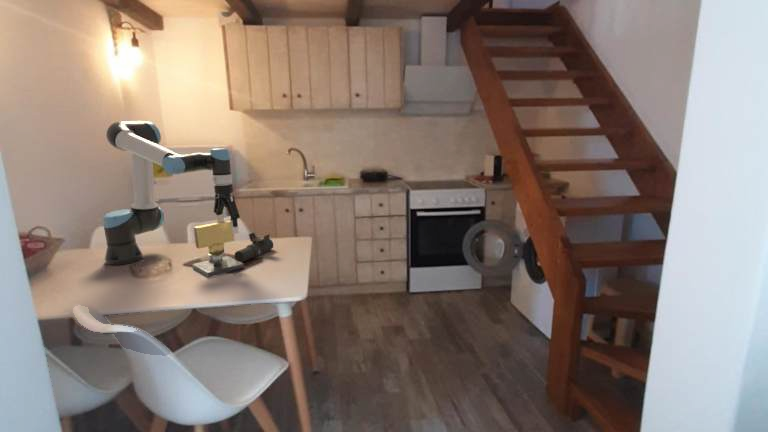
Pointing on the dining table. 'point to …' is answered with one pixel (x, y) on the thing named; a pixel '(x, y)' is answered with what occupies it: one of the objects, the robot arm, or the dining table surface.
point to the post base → (217, 265)
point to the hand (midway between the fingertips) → (228, 231)
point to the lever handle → (214, 236)
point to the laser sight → (254, 248)
